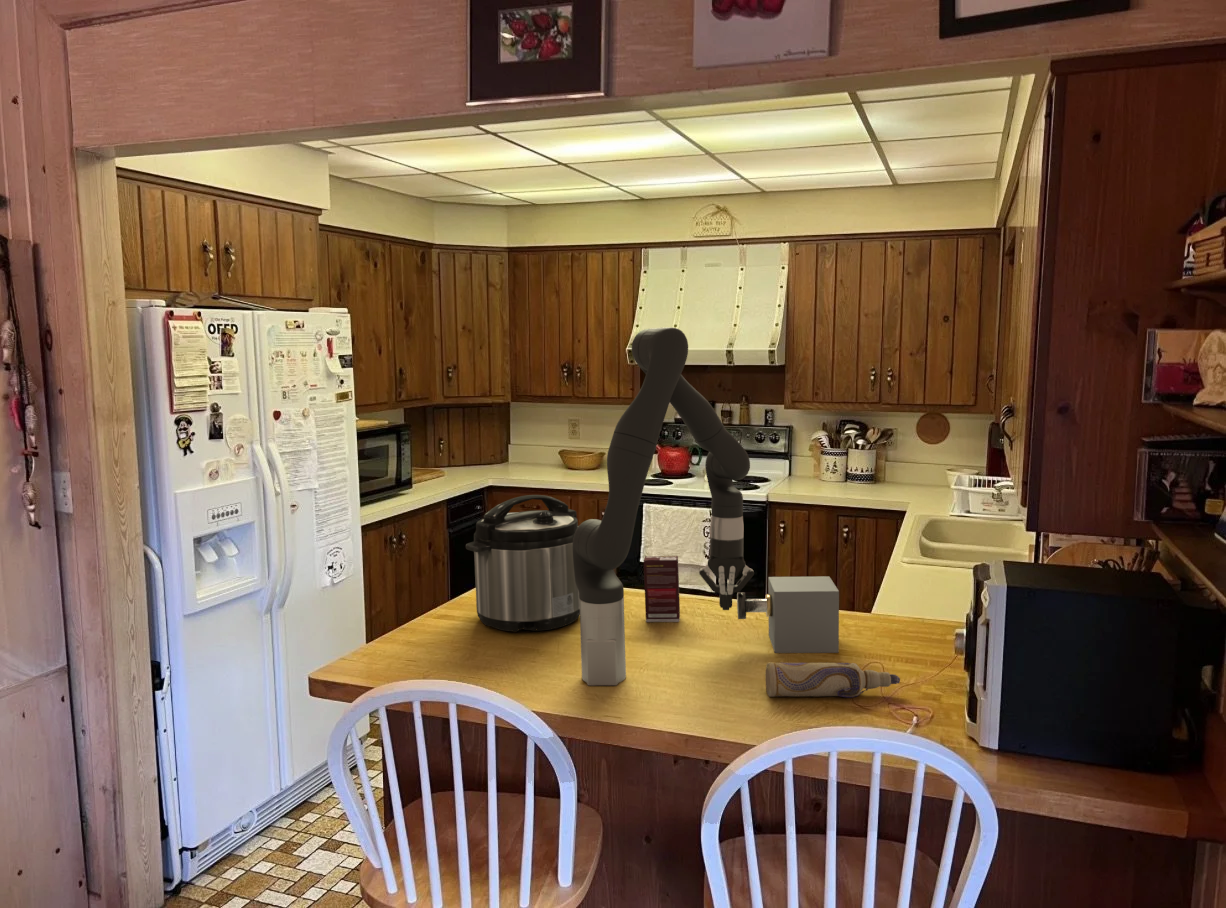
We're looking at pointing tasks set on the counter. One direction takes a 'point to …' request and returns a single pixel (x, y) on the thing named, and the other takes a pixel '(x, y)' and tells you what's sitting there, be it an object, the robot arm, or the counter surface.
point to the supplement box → (661, 589)
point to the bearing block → (804, 615)
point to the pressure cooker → (526, 566)
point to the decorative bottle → (823, 679)
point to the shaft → (753, 605)
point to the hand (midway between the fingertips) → (725, 609)
